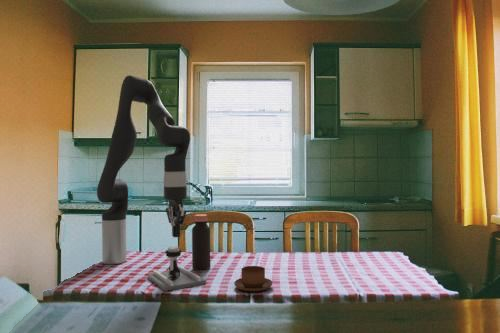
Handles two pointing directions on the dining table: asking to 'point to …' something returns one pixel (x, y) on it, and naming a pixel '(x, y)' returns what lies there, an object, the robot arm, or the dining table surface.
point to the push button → (173, 262)
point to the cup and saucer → (253, 279)
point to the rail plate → (176, 279)
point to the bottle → (201, 243)
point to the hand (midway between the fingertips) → (176, 236)
